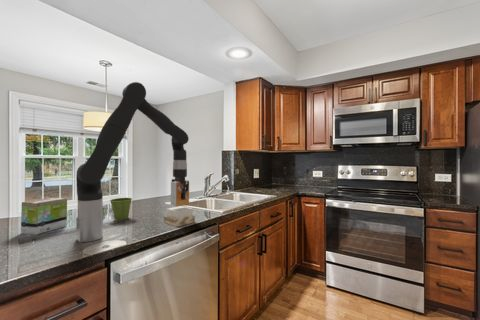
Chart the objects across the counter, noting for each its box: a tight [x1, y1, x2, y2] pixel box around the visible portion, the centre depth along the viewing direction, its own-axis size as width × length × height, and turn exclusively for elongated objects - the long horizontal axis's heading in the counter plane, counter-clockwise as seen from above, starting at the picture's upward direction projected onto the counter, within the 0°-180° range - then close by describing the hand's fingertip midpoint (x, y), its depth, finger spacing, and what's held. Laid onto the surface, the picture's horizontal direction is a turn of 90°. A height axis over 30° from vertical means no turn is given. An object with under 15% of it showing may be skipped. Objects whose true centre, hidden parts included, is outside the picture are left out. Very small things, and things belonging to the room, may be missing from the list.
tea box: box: [20, 197, 68, 235], centre depth 117 cm, size 15×10×15 cm
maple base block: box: [163, 214, 196, 228], centre depth 131 cm, size 12×12×4 cm
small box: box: [170, 181, 190, 207], centre depth 131 cm, size 8×6×13 cm
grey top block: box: [166, 206, 194, 219], centre depth 131 cm, size 10×10×4 cm
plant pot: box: [109, 197, 133, 221], centre depth 138 cm, size 12×12×11 cm
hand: (179, 198), depth 131 cm, fingers closed on small box, 6 cm apart
